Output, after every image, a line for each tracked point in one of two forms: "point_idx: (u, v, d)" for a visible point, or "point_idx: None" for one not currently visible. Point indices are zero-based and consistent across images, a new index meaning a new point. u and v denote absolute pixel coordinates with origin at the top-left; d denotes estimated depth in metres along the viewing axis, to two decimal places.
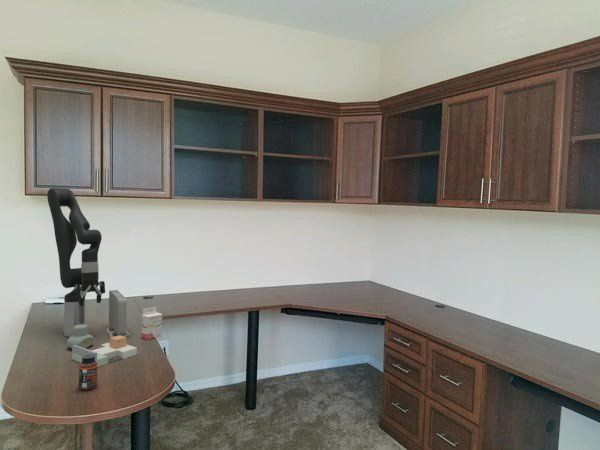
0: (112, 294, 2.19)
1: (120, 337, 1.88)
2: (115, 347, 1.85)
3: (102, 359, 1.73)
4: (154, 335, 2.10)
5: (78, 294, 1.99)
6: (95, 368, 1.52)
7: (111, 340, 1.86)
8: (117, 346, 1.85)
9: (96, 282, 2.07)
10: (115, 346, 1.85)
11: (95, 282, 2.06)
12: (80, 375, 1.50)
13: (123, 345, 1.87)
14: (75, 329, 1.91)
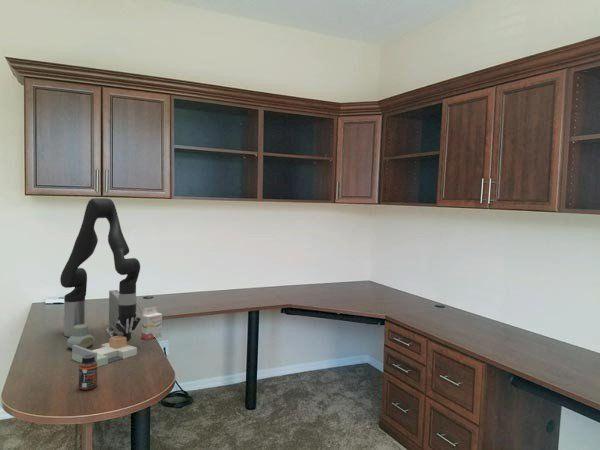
0: (112, 294, 2.19)
1: (120, 337, 1.88)
2: (115, 347, 1.85)
3: (102, 359, 1.73)
4: (154, 335, 2.10)
5: (122, 330, 1.88)
6: (95, 368, 1.52)
7: (111, 340, 1.86)
8: (117, 346, 1.85)
9: (135, 314, 1.93)
10: (115, 346, 1.85)
11: (132, 314, 1.92)
12: (80, 375, 1.50)
13: (123, 345, 1.87)
14: (75, 329, 1.91)
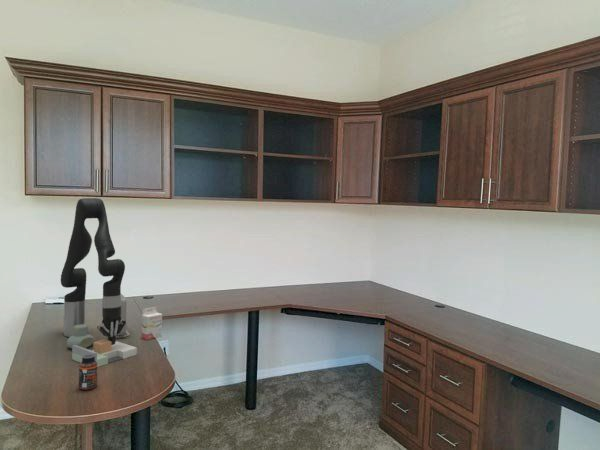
0: None
1: (105, 341, 1.81)
2: (99, 352, 1.78)
3: (102, 359, 1.73)
4: (154, 335, 2.10)
5: (107, 333, 1.81)
6: (95, 368, 1.52)
7: (95, 345, 1.79)
8: (102, 350, 1.78)
9: (120, 317, 1.86)
10: (99, 351, 1.78)
11: (117, 317, 1.86)
12: (80, 375, 1.50)
13: (108, 349, 1.81)
14: (75, 329, 1.91)
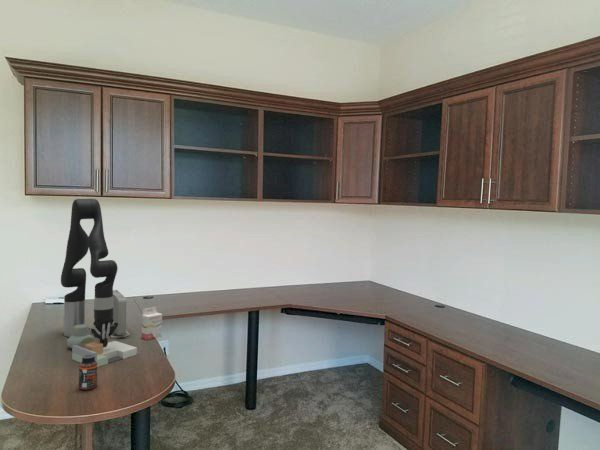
0: None
1: (96, 344, 1.78)
2: None
3: (102, 359, 1.73)
4: (154, 335, 2.10)
5: (98, 336, 1.78)
6: (95, 368, 1.52)
7: (86, 347, 1.76)
8: None
9: (112, 319, 1.83)
10: None
11: (109, 319, 1.82)
12: (80, 375, 1.50)
13: (99, 352, 1.77)
14: (75, 329, 1.91)
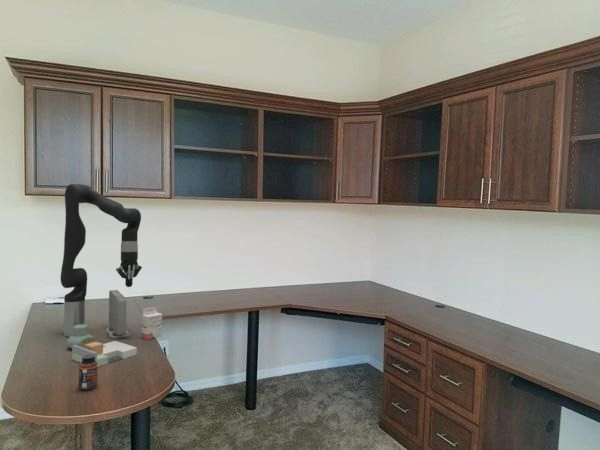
0: (112, 294, 2.19)
1: (96, 344, 1.78)
2: None
3: (102, 359, 1.73)
4: (154, 335, 2.10)
5: (124, 275, 1.98)
6: (95, 368, 1.52)
7: (86, 347, 1.76)
8: None
9: (136, 262, 2.03)
10: None
11: (134, 262, 2.02)
12: (80, 375, 1.50)
13: (99, 352, 1.77)
14: (75, 329, 1.91)
